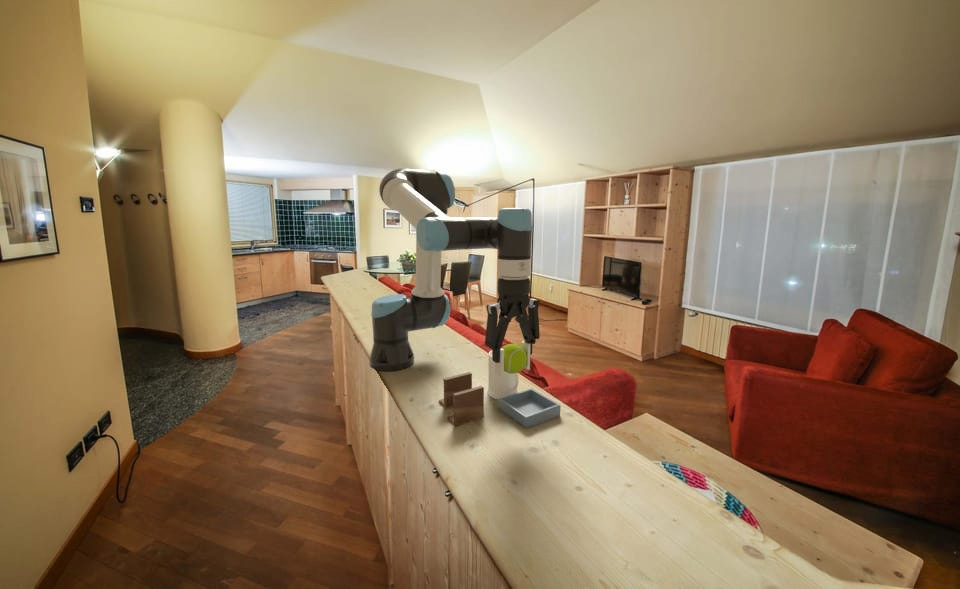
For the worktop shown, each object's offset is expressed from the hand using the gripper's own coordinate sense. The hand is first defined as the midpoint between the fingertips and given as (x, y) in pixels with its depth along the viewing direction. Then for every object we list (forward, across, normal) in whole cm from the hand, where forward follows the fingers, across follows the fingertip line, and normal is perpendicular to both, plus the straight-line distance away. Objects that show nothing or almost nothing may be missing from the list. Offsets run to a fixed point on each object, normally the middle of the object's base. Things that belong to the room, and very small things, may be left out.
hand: (512, 370), depth 90 cm
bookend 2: (+13, -9, +7) cm, 17 cm away
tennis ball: (+1, 0, 0) cm, 1 cm away
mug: (+13, +6, +12) cm, 19 cm away
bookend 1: (+13, -8, +16) cm, 22 cm away
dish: (+13, +6, +1) cm, 14 cm away
